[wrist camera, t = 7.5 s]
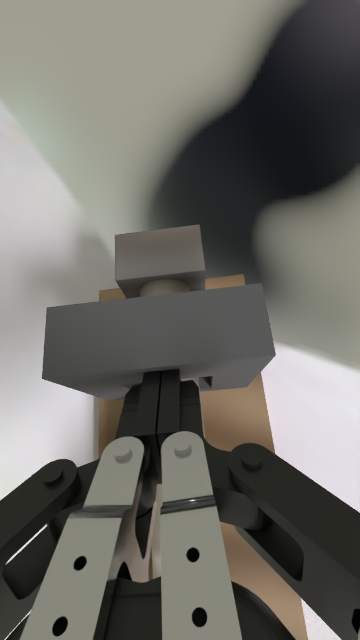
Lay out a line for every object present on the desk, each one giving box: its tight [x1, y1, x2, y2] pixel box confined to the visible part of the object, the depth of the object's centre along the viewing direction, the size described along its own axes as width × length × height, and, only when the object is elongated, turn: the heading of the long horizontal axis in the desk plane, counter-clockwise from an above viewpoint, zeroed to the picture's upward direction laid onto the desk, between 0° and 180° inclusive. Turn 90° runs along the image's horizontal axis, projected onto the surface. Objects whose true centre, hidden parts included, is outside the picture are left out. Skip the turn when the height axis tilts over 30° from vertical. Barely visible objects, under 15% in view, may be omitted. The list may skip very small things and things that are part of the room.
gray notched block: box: [42, 283, 276, 401], centre depth 16 cm, size 3×9×9 cm, turn 95°
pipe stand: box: [99, 225, 308, 640], centre depth 18 cm, size 25×12×9 cm, turn 5°
